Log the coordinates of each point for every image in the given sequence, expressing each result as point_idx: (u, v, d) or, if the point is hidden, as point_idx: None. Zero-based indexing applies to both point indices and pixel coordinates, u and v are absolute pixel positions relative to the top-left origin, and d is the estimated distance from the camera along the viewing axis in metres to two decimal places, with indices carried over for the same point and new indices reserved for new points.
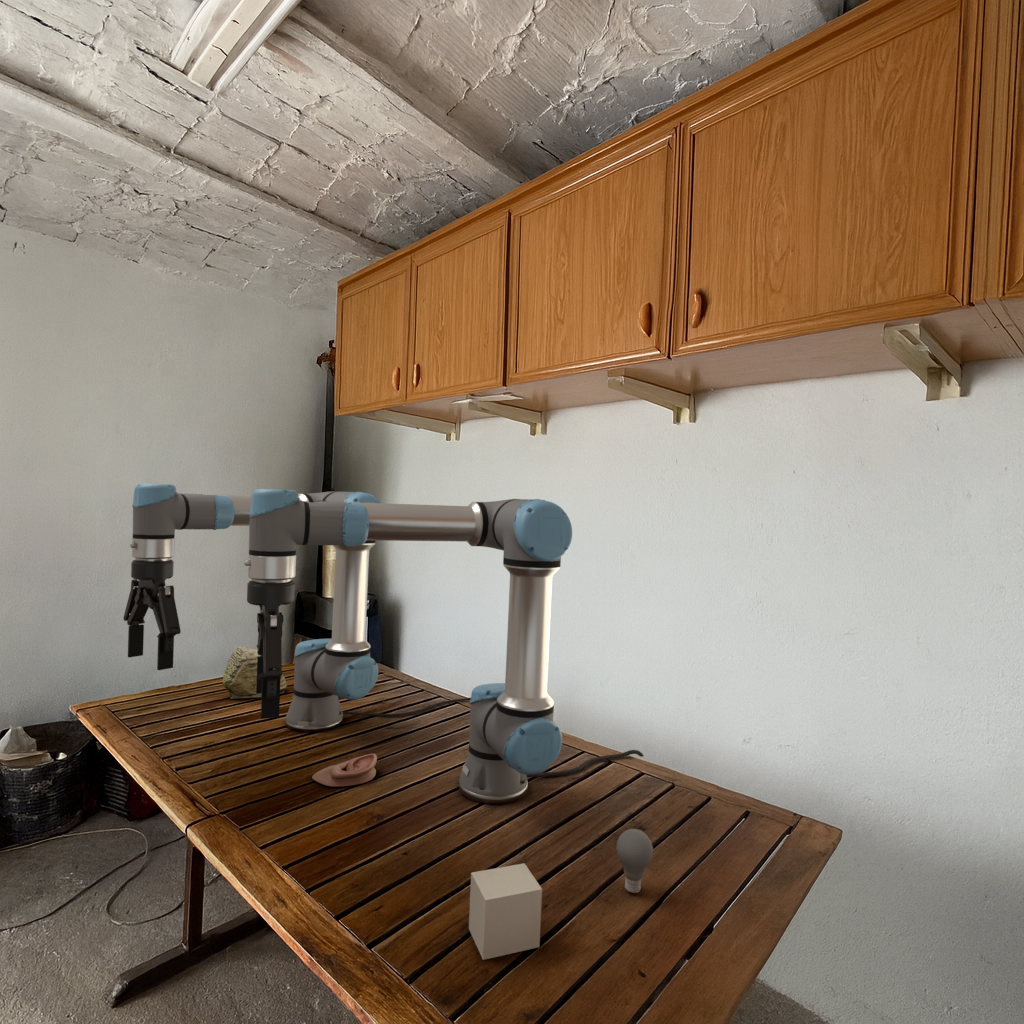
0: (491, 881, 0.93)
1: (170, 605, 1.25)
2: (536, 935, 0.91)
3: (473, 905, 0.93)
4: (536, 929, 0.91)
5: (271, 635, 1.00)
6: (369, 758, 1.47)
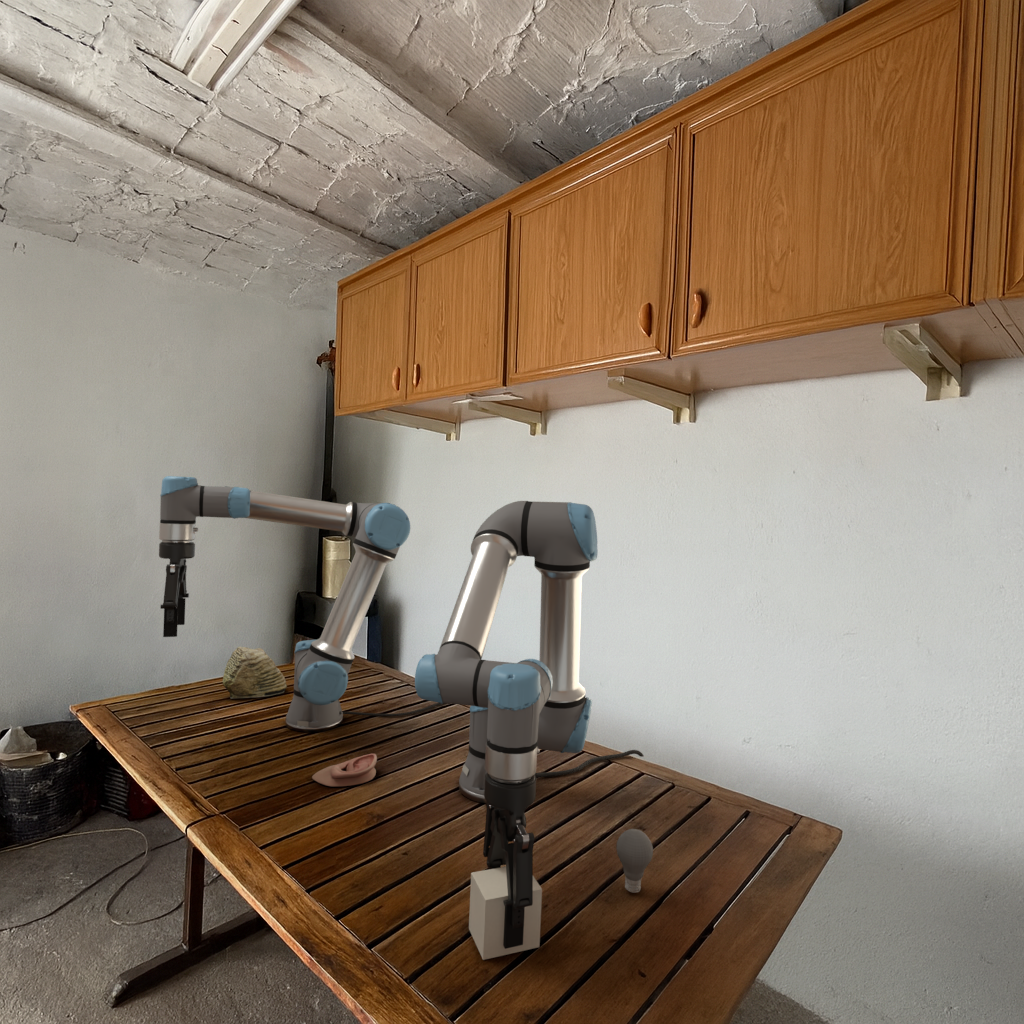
0: (491, 881, 0.93)
1: None
2: (536, 935, 0.91)
3: (473, 905, 0.93)
4: (536, 929, 0.91)
5: None
6: (369, 758, 1.47)
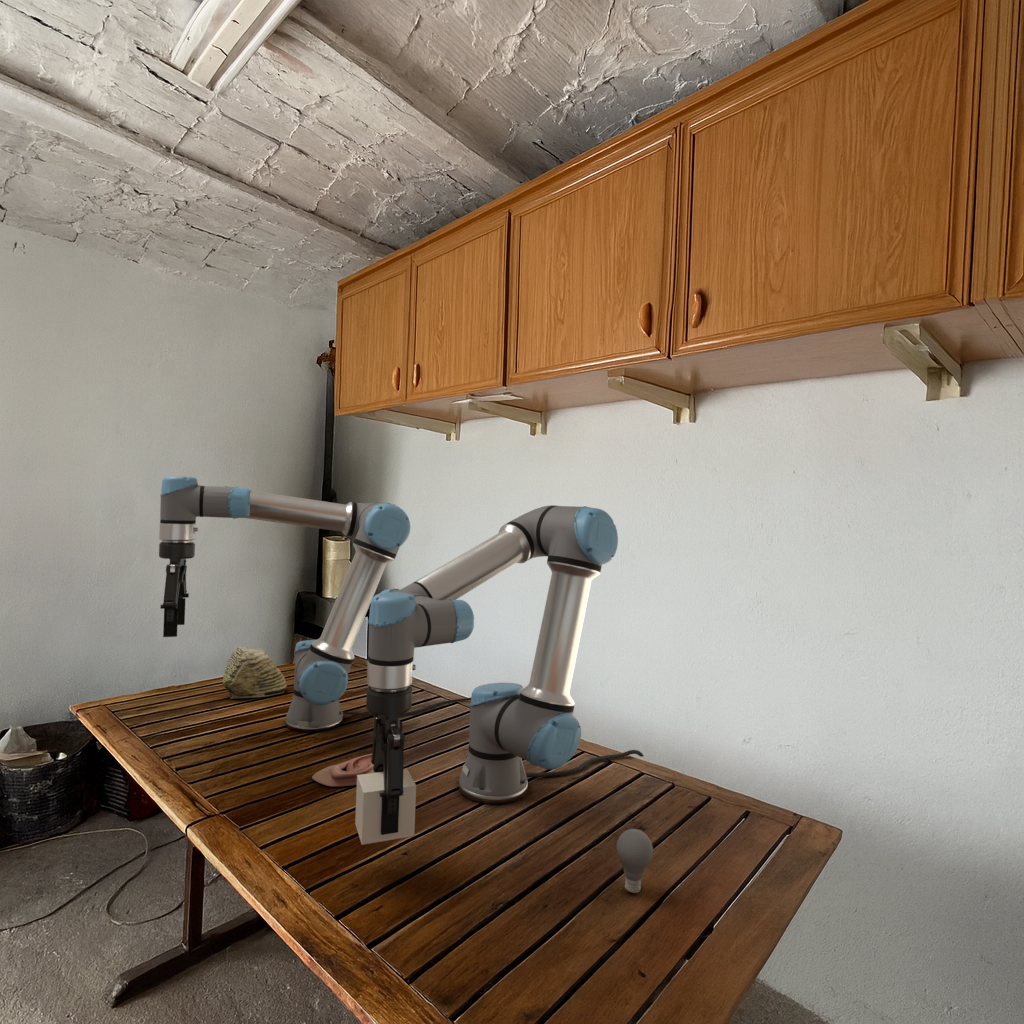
0: (373, 780, 1.06)
1: None
2: (411, 826, 1.05)
3: (357, 802, 1.06)
4: (411, 820, 1.05)
5: None
6: (369, 758, 1.47)
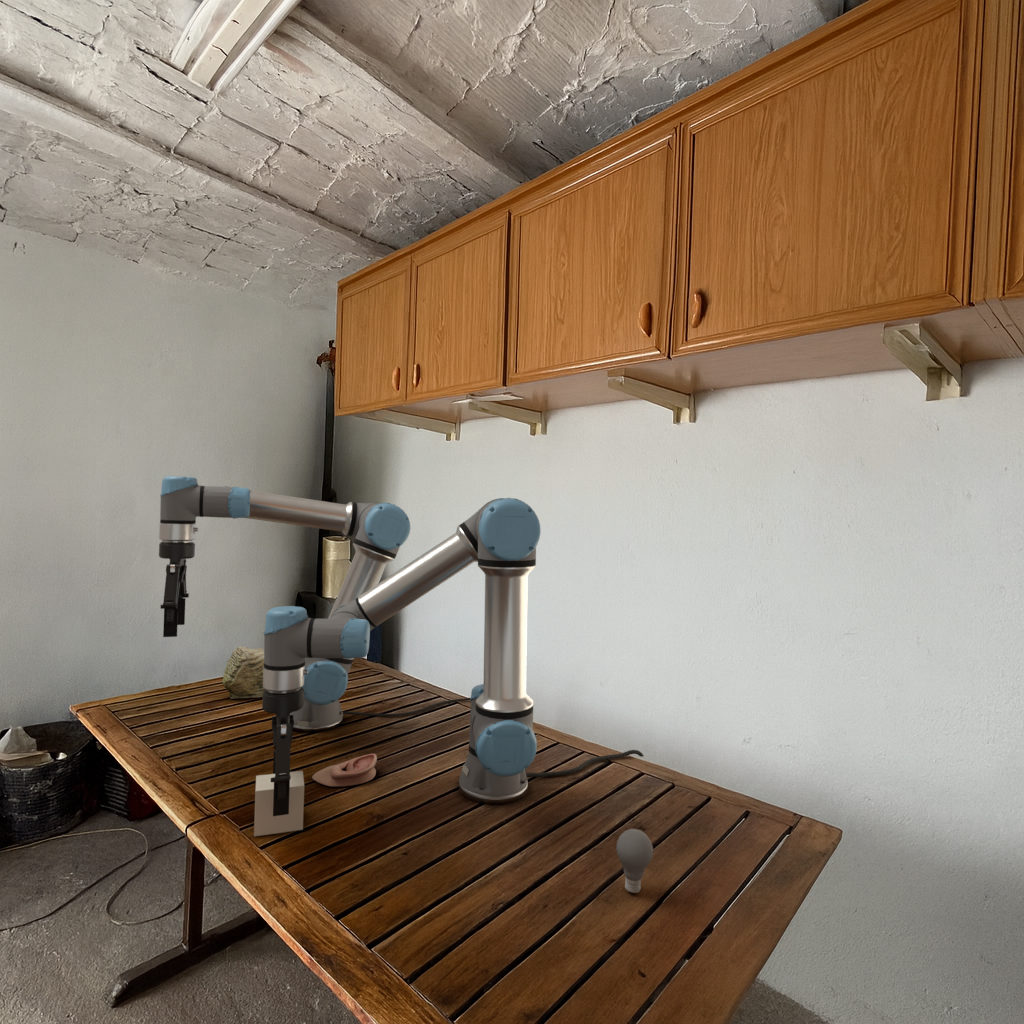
0: (268, 780, 1.21)
1: None
2: (300, 820, 1.20)
3: None
4: (300, 816, 1.20)
5: None
6: (369, 758, 1.47)
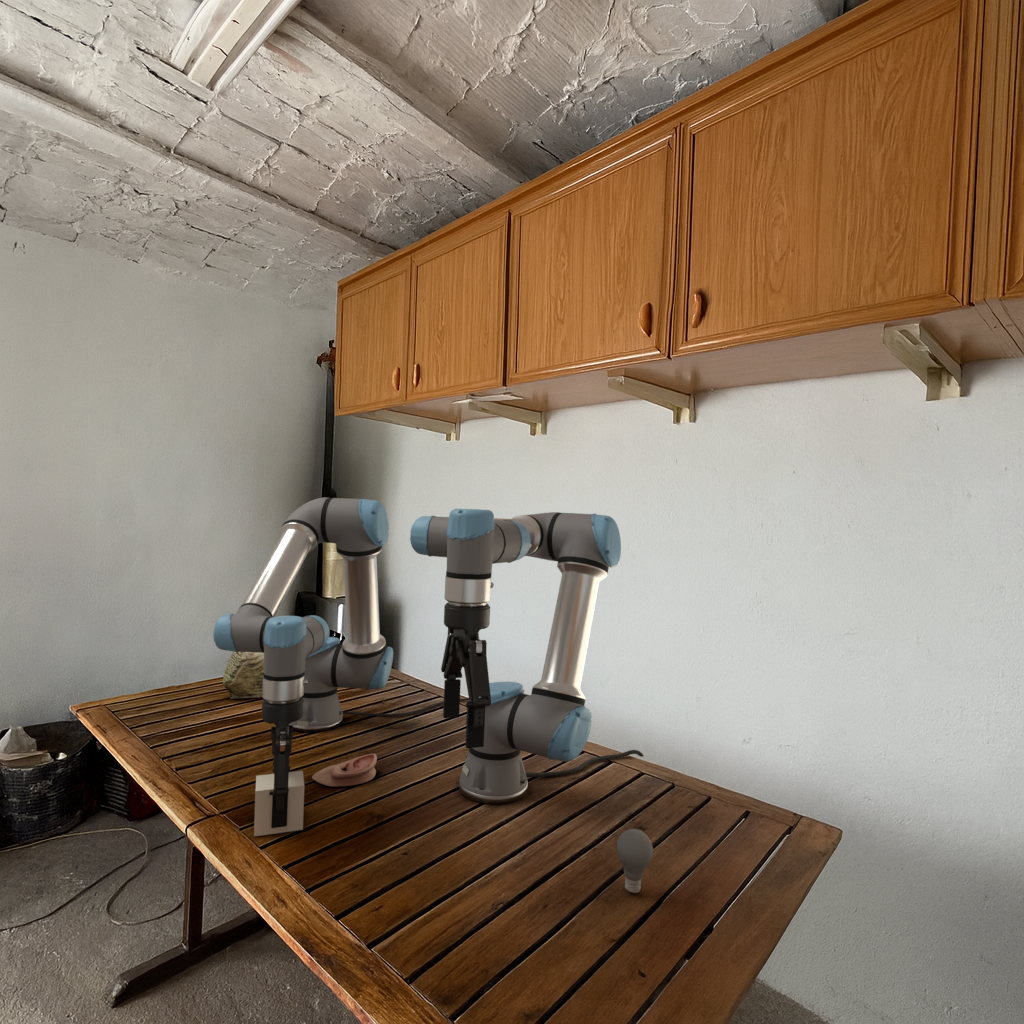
0: (268, 780, 1.21)
1: None
2: (300, 820, 1.20)
3: None
4: (300, 816, 1.20)
5: None
6: (369, 758, 1.47)
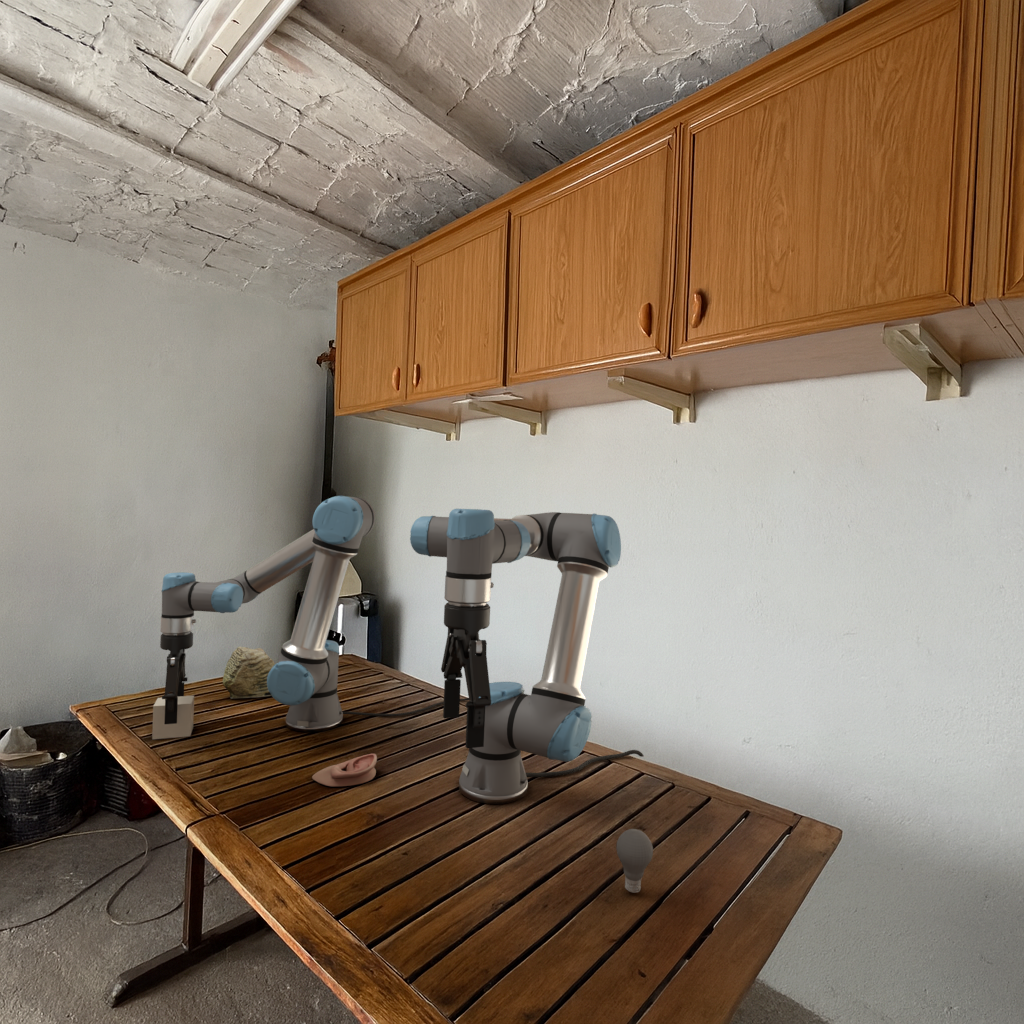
0: None
1: None
2: (188, 729, 1.63)
3: None
4: (188, 726, 1.63)
5: None
6: (369, 758, 1.47)
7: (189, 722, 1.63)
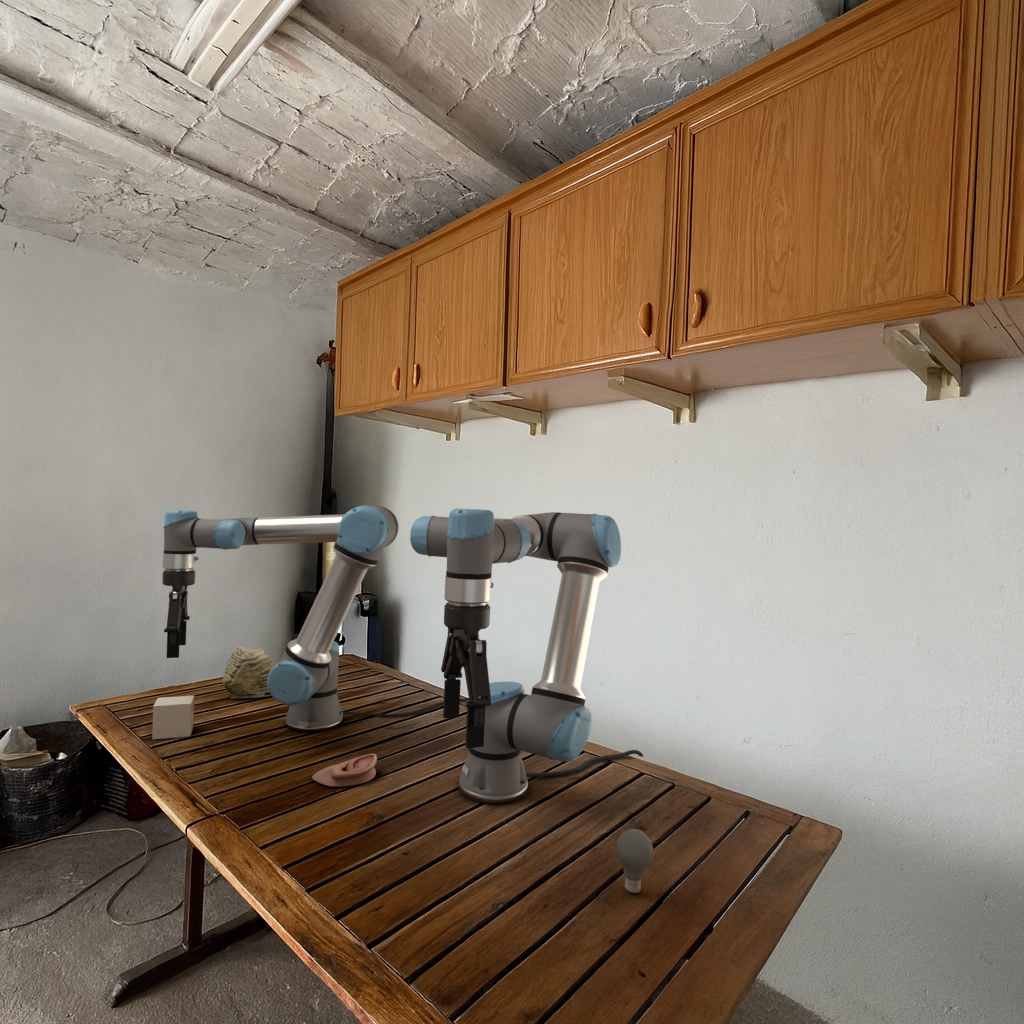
0: (165, 700, 1.64)
1: None
2: (188, 729, 1.63)
3: None
4: (188, 726, 1.63)
5: None
6: (369, 758, 1.47)
7: (189, 722, 1.63)
